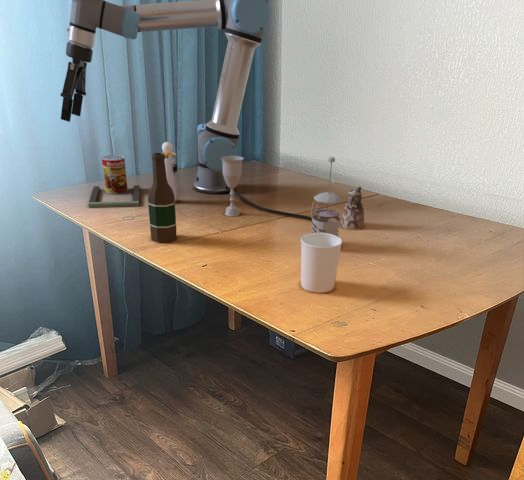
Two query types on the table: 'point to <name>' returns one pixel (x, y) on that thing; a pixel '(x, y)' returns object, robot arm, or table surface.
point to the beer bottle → (161, 203)
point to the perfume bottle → (170, 166)
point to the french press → (326, 211)
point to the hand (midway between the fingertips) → (70, 117)
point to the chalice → (232, 179)
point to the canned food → (114, 174)
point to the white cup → (319, 261)
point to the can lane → (94, 202)
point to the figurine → (353, 210)
